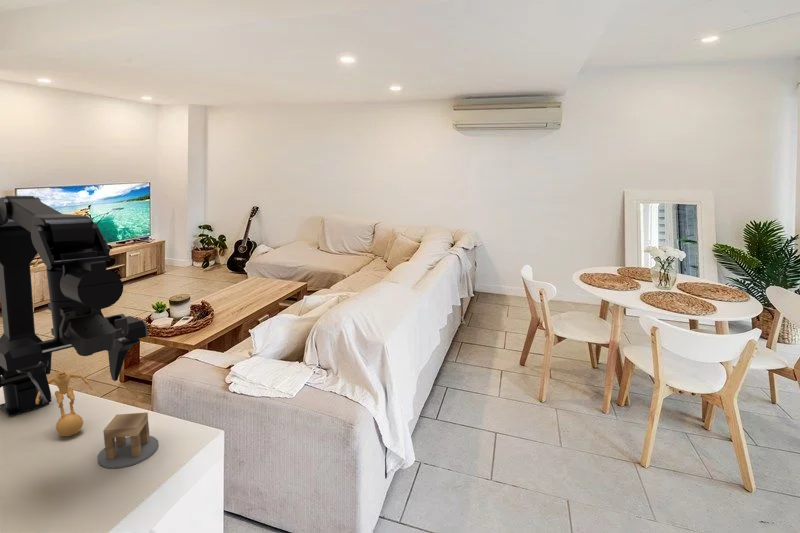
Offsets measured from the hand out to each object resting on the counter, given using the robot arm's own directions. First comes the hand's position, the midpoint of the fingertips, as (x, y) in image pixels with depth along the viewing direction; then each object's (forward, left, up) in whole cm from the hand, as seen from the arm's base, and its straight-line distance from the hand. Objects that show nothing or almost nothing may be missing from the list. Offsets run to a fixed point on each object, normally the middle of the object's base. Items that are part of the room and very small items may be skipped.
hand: (83, 390), depth 69 cm
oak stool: (+2, +5, -13) cm, 14 cm away
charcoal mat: (+2, +5, -13) cm, 14 cm away
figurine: (-13, +1, -13) cm, 19 cm away
